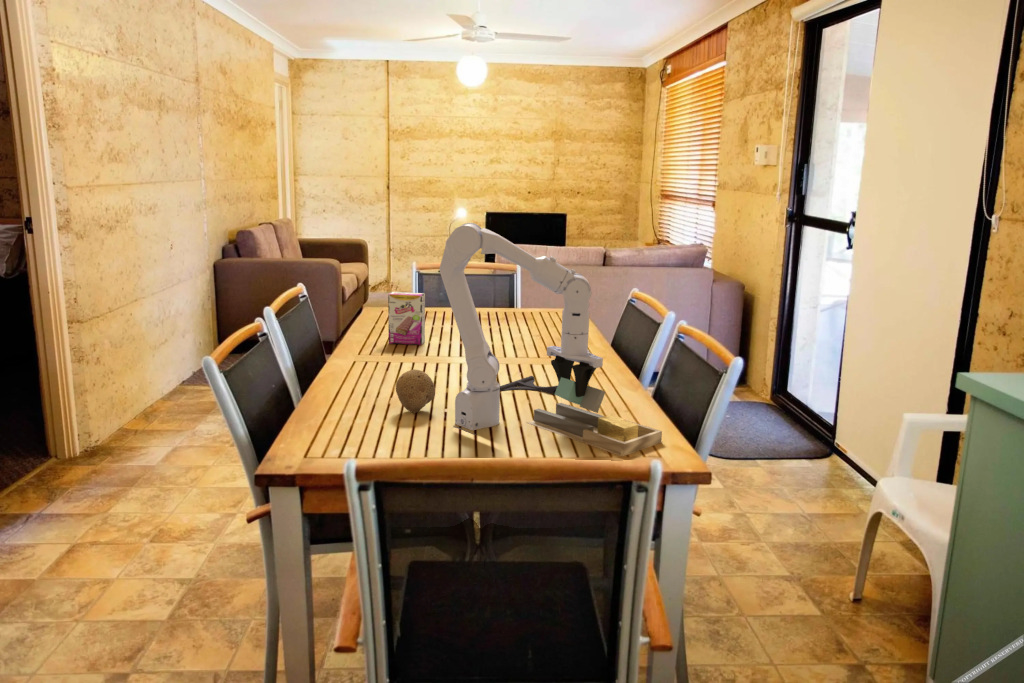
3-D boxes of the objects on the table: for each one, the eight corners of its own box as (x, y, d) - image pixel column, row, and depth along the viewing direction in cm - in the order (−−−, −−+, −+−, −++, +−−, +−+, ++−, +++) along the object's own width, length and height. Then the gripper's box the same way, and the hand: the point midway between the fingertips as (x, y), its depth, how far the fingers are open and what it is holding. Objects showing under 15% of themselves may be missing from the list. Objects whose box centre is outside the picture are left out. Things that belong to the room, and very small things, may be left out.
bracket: (543, 403, 190) (544, 392, 190) (496, 392, 199) (496, 381, 198) (575, 391, 201) (576, 381, 201) (529, 381, 210) (530, 371, 210)
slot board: (622, 461, 151) (622, 444, 150) (526, 426, 170) (526, 411, 169) (662, 446, 159) (663, 430, 159) (567, 415, 179) (567, 400, 178)
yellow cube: (623, 447, 155) (624, 428, 155) (609, 441, 158) (610, 423, 158) (637, 443, 158) (638, 424, 157) (623, 438, 161) (624, 419, 160)
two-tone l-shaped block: (597, 412, 165) (581, 405, 161) (570, 403, 170) (553, 396, 166) (605, 391, 165) (589, 383, 161) (577, 383, 171) (561, 375, 167)
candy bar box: (388, 344, 249) (387, 293, 246) (392, 341, 254) (391, 291, 251) (422, 345, 248) (421, 294, 245) (425, 342, 253) (425, 292, 250)
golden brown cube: (610, 441, 159) (611, 422, 158) (597, 436, 162) (598, 417, 161) (624, 437, 161) (625, 419, 160) (611, 432, 164) (611, 414, 163)
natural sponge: (416, 403, 186) (416, 363, 184) (443, 411, 180) (443, 369, 178) (388, 411, 179) (387, 370, 177) (415, 420, 173) (414, 376, 171)
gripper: (613, 335, 162) (610, 397, 165) (563, 324, 172) (561, 383, 175) (591, 339, 157) (588, 403, 160) (540, 328, 167) (538, 388, 170)
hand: (572, 393), depth 167 cm, fingers closed on two-tone l-shaped block, 4 cm apart
